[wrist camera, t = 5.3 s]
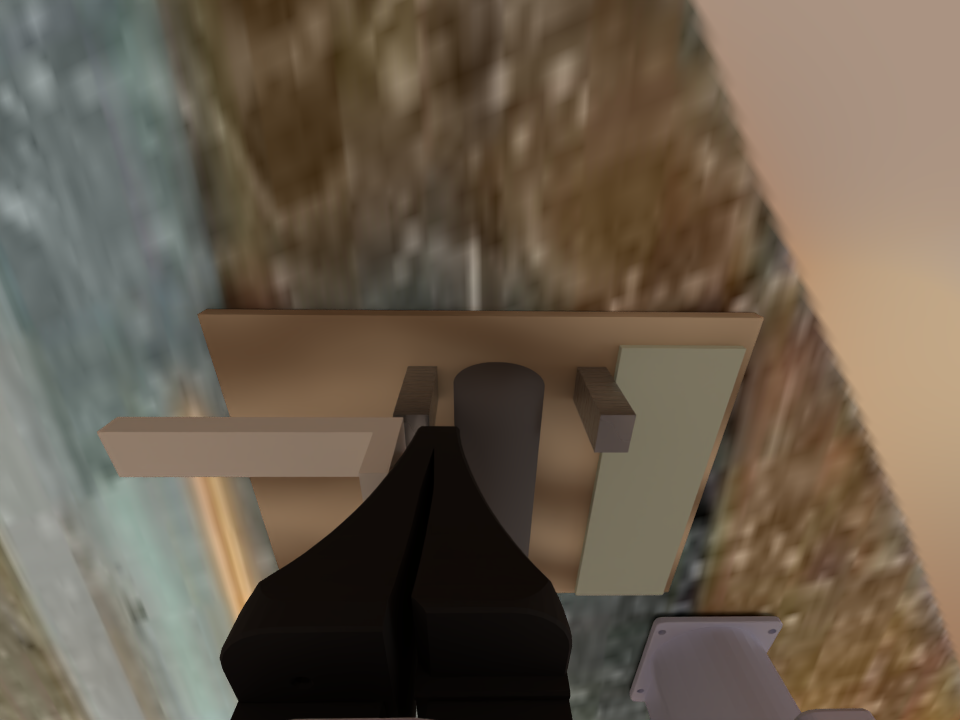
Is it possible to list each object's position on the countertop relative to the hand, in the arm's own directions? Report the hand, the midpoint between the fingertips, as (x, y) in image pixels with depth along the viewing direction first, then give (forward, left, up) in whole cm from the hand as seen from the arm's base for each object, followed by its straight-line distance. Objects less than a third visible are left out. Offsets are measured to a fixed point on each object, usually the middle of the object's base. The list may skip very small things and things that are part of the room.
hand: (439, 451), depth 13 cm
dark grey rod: (-6, -3, -4) cm, 8 cm away
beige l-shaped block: (0, +6, -1) cm, 6 cm away
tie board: (-6, -2, -5) cm, 8 cm away
